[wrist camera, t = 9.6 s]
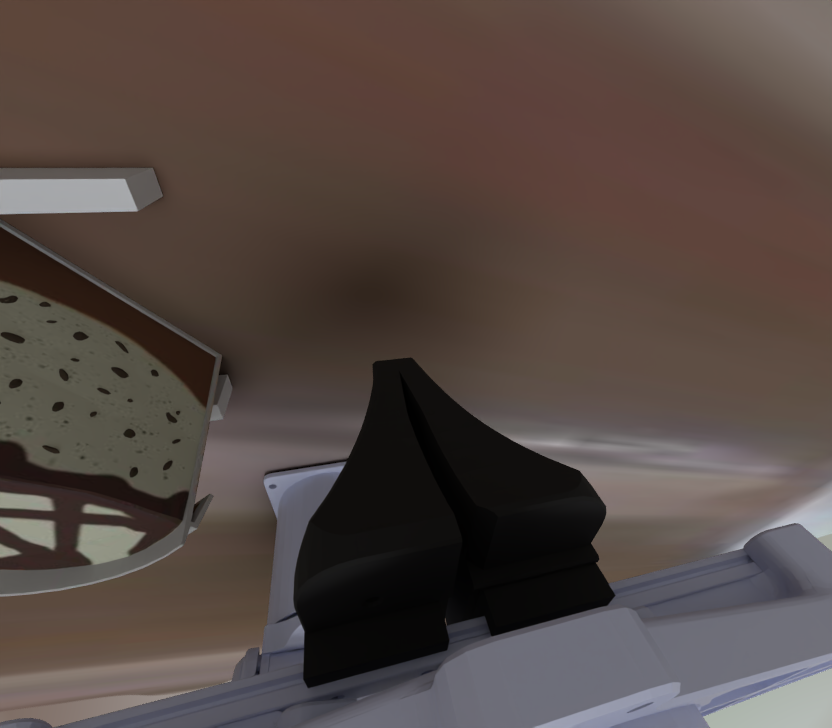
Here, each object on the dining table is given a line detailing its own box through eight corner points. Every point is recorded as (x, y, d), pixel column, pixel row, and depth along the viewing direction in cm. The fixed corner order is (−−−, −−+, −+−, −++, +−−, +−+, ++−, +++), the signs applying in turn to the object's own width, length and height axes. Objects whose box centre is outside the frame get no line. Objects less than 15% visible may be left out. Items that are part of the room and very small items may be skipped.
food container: (-130, 294, 14) (-706, 541, 6) (-59, 182, 13) (-691, 315, 5) (179, 432, 21) (96, 628, 13) (247, 370, 20) (199, 549, 12)
